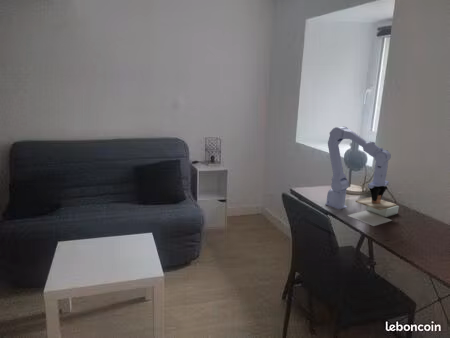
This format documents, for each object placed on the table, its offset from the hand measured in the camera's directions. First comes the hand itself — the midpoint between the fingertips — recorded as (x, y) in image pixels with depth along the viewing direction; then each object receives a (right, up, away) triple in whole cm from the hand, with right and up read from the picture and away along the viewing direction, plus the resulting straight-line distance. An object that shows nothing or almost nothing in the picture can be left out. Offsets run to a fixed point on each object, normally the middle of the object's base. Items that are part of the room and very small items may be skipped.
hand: (376, 200), depth 177 cm
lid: (0, -2, 0) cm, 2 cm away
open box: (+7, -7, +8) cm, 13 cm away
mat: (-4, -9, -1) cm, 10 cm away
